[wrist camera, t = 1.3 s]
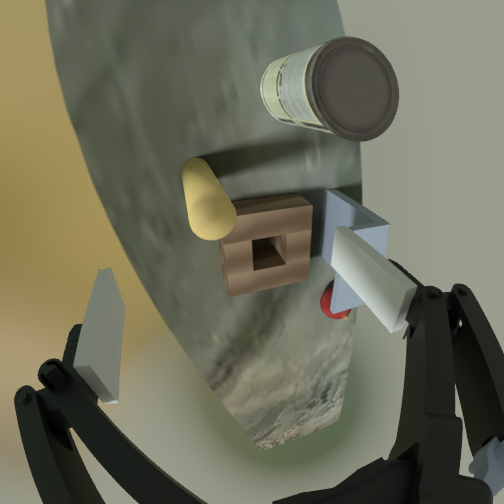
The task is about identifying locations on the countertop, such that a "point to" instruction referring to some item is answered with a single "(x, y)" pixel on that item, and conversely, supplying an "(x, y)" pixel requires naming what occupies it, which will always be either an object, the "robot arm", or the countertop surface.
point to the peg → (207, 201)
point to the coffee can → (333, 89)
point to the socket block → (273, 259)
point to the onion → (326, 303)
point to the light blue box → (361, 223)
